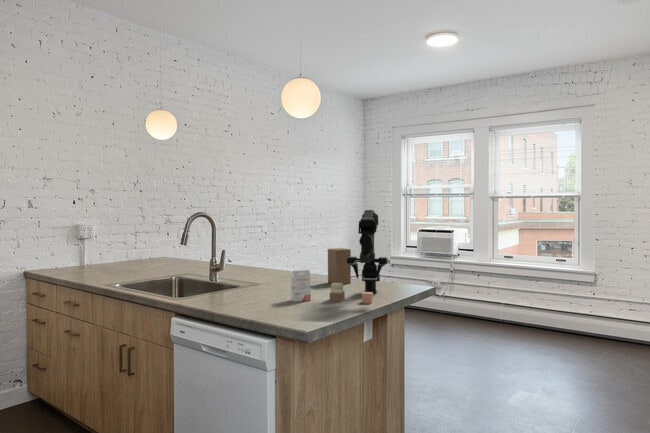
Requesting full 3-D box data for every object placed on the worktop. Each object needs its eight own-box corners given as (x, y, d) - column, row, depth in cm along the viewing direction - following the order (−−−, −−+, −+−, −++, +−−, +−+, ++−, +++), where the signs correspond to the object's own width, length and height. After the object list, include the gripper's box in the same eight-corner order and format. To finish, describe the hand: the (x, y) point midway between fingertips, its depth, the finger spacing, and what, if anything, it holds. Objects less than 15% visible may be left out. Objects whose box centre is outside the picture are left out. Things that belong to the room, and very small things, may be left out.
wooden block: (351, 283, 270) (350, 249, 269) (336, 285, 265) (336, 250, 264) (341, 281, 278) (341, 247, 278) (327, 282, 273) (327, 248, 273)
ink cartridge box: (308, 298, 227) (308, 268, 226) (310, 300, 222) (310, 270, 221) (291, 299, 224) (290, 269, 224) (293, 301, 219) (292, 270, 219)
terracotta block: (363, 301, 220) (363, 291, 220) (373, 301, 219) (373, 292, 219) (362, 303, 216) (362, 293, 216) (371, 303, 215) (371, 294, 215)
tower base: (332, 298, 227) (332, 290, 226) (344, 299, 225) (344, 291, 225) (329, 301, 221) (329, 293, 221) (342, 301, 219) (342, 293, 219)
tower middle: (333, 290, 226) (332, 282, 226) (343, 291, 225) (343, 283, 225) (330, 292, 221) (330, 284, 221) (341, 293, 220) (341, 284, 220)
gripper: (344, 246, 211) (344, 280, 212) (385, 247, 207) (385, 282, 207) (348, 244, 222) (349, 277, 222) (388, 245, 218) (388, 278, 218)
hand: (367, 278), depth 217 cm, fingers open, 9 cm apart
